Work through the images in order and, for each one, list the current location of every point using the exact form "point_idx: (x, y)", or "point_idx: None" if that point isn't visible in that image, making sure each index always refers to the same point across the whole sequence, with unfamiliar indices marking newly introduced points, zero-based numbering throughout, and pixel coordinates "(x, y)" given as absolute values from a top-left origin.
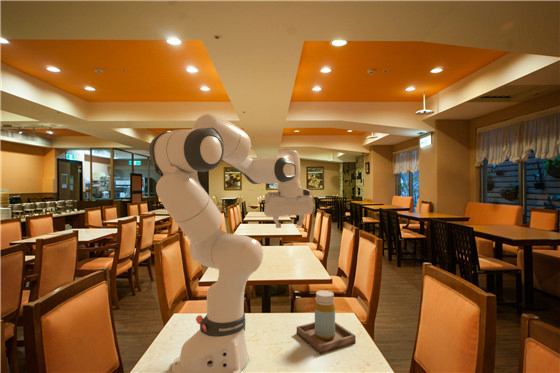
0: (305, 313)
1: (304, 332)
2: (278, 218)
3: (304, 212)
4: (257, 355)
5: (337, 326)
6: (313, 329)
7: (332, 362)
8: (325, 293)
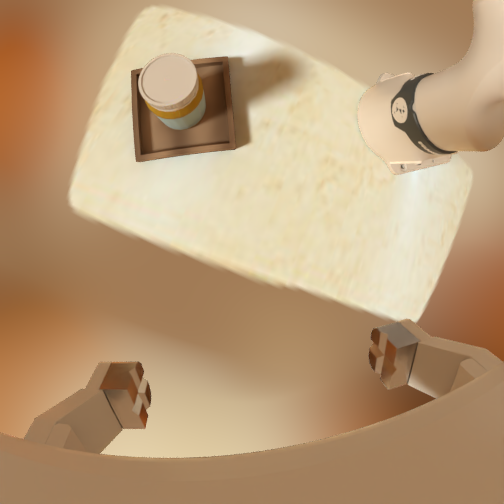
0: (167, 241)
1: (230, 116)
2: (464, 366)
3: (4, 455)
4: (341, 109)
5: (138, 122)
6: (192, 143)
7: (219, 35)
8: (164, 79)
